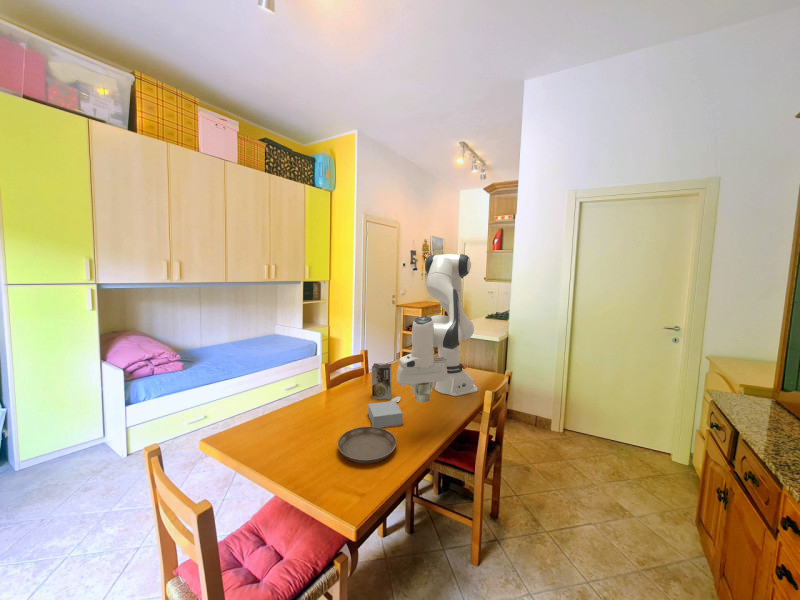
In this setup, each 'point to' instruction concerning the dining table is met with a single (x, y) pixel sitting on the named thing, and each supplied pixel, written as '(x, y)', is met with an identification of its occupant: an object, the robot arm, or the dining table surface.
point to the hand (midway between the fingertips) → (422, 393)
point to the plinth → (385, 414)
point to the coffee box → (381, 381)
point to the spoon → (396, 399)
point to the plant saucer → (367, 444)
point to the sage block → (423, 392)
